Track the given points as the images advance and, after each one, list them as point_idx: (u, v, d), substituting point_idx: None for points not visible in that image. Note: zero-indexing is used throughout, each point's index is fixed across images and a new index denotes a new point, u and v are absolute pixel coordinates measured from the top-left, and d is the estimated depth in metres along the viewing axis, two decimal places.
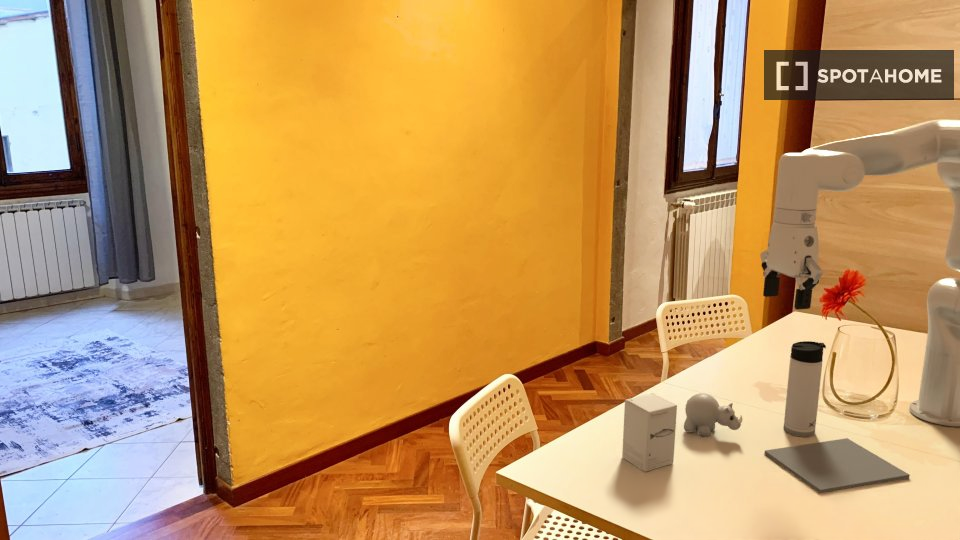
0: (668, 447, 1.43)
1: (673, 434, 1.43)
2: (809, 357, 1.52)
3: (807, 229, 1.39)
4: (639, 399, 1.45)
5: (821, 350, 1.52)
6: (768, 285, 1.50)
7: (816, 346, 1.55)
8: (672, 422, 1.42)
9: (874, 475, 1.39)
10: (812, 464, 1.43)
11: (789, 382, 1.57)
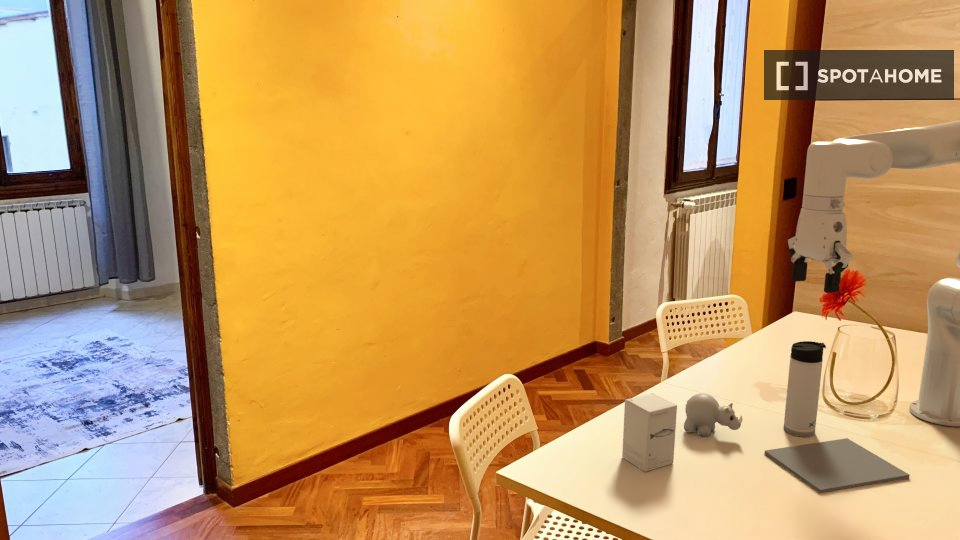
0: (668, 447, 1.43)
1: (673, 434, 1.43)
2: (809, 358, 1.52)
3: (836, 215, 1.44)
4: (639, 399, 1.45)
5: (821, 350, 1.52)
6: (796, 270, 1.55)
7: (816, 346, 1.55)
8: (672, 422, 1.42)
9: (874, 475, 1.39)
10: (812, 464, 1.43)
11: (789, 382, 1.57)
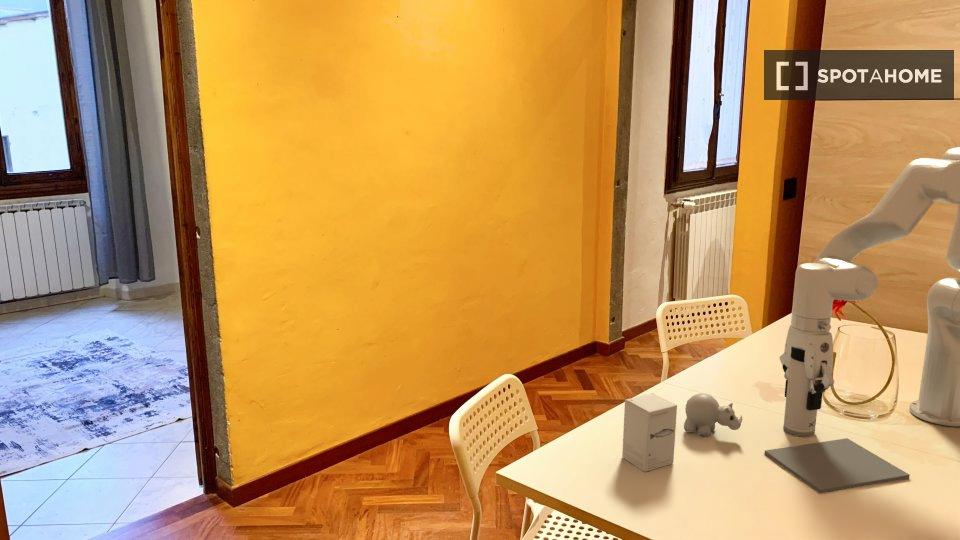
0: (668, 447, 1.43)
1: (673, 434, 1.43)
2: None
3: (823, 336, 1.50)
4: (639, 399, 1.45)
5: None
6: None
7: None
8: (672, 422, 1.42)
9: (874, 475, 1.39)
10: (812, 464, 1.43)
11: (789, 382, 1.57)
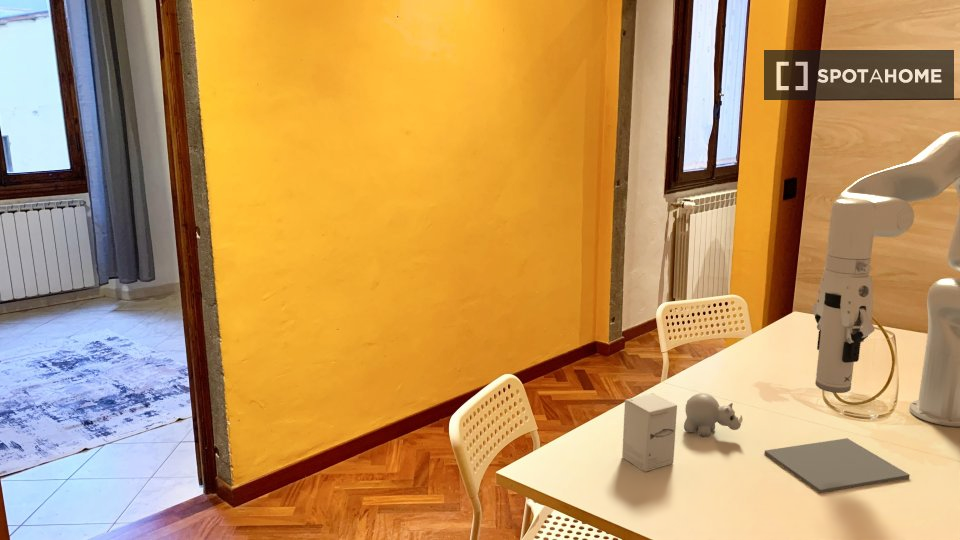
0: (668, 447, 1.43)
1: (673, 434, 1.43)
2: None
3: (862, 279, 1.34)
4: (639, 399, 1.45)
5: None
6: None
7: None
8: (672, 422, 1.42)
9: (874, 475, 1.39)
10: (812, 464, 1.43)
11: (822, 332, 1.41)
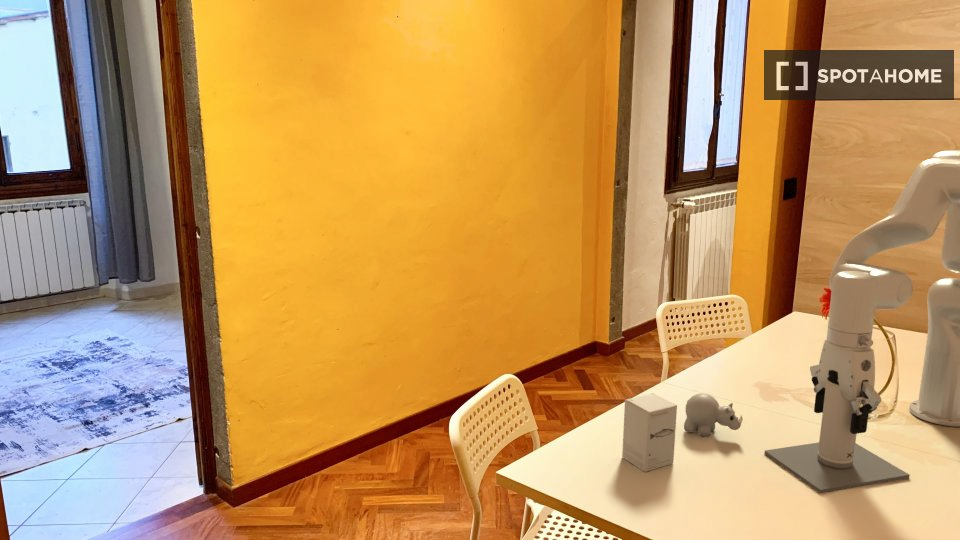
0: (668, 447, 1.43)
1: (673, 434, 1.43)
2: None
3: (864, 353, 1.34)
4: (639, 399, 1.45)
5: None
6: (819, 402, 1.45)
7: None
8: (672, 422, 1.42)
9: (874, 475, 1.39)
10: (812, 464, 1.43)
11: (825, 407, 1.41)
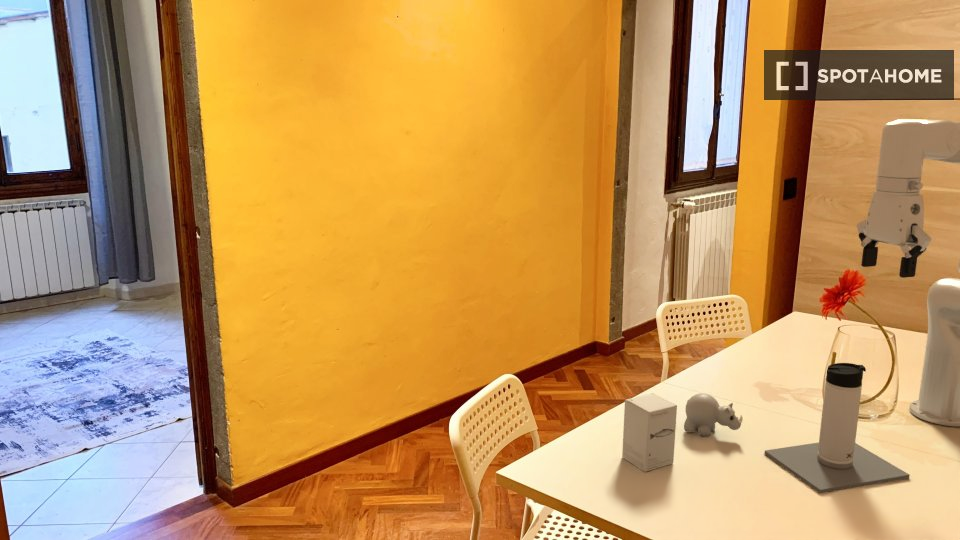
0: (668, 447, 1.43)
1: (673, 434, 1.43)
2: (847, 382, 1.37)
3: (913, 197, 1.39)
4: (639, 399, 1.45)
5: (861, 373, 1.37)
6: (867, 255, 1.51)
7: (855, 369, 1.40)
8: (672, 422, 1.42)
9: (874, 475, 1.39)
10: (812, 464, 1.43)
11: (824, 408, 1.41)
